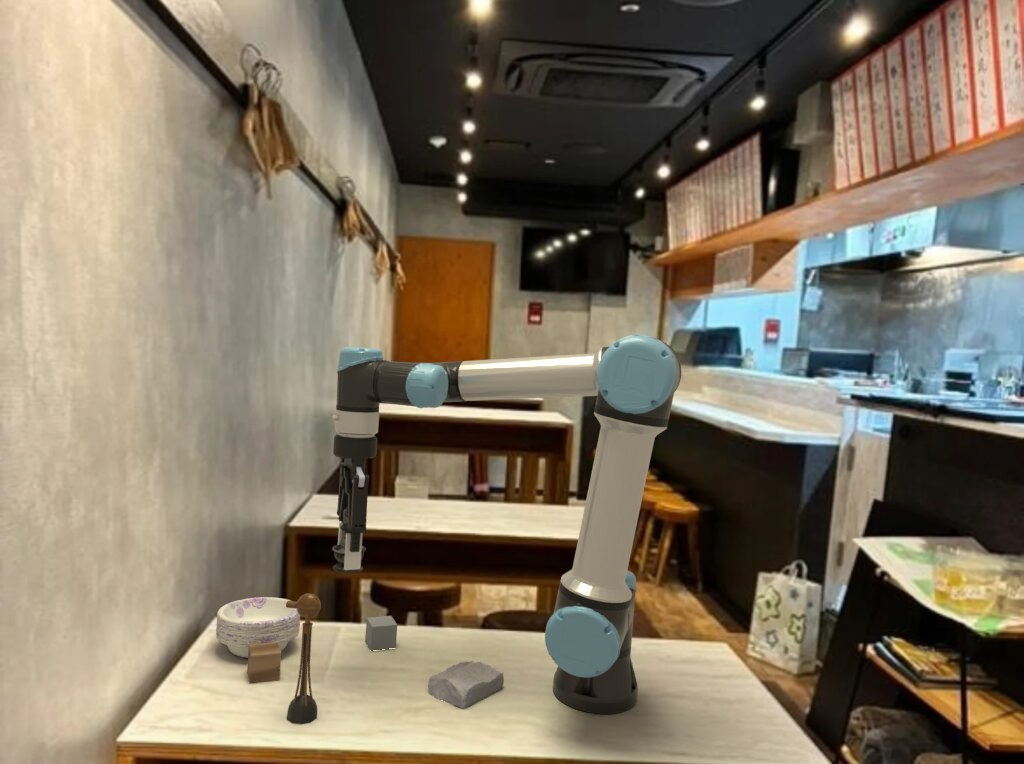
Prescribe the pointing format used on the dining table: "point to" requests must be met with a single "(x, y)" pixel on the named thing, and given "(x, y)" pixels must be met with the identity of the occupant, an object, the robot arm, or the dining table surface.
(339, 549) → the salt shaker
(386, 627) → the slate cube
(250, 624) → the paper bowls
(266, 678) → the walnut cube
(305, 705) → the wooden tabletop sculpture
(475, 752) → the dining table surface
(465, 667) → the stone block
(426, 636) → the dining table surface
